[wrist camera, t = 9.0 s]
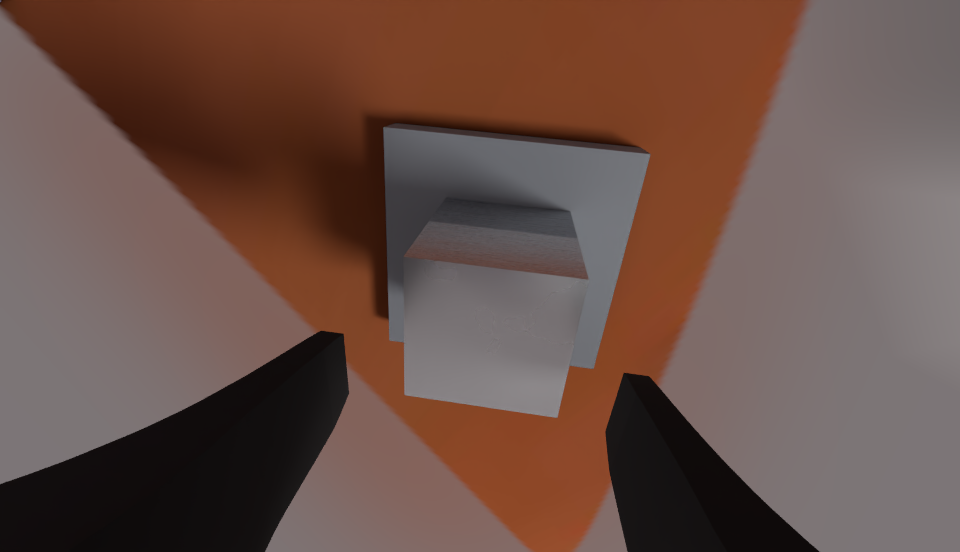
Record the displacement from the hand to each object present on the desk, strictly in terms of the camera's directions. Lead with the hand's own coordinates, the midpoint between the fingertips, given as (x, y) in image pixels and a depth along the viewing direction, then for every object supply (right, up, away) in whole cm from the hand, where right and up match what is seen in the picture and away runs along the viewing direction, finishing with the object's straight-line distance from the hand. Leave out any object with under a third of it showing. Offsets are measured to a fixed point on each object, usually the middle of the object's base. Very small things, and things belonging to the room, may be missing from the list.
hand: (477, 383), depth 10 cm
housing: (+1, +3, +7) cm, 8 cm away
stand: (+1, +4, +8) cm, 9 cm away
